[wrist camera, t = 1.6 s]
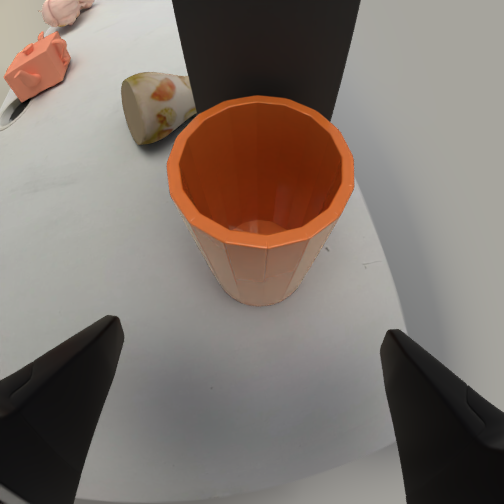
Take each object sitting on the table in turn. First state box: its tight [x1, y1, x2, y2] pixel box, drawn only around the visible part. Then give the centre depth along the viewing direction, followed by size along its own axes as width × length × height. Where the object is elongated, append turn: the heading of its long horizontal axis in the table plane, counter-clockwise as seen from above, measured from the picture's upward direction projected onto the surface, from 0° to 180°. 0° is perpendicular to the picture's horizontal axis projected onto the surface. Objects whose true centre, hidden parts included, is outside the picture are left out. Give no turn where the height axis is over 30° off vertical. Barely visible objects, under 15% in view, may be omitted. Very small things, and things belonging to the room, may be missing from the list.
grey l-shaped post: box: [172, 0, 361, 122], centre depth 13 cm, size 4×7×24 cm, turn 87°
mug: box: [121, 72, 197, 145], centre depth 25 cm, size 8×10×10 cm
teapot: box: [4, 31, 71, 102], centre depth 29 cm, size 12×15×8 cm
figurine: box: [41, 0, 94, 27], centre depth 37 cm, size 11×12×18 cm
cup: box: [167, 95, 354, 306], centre depth 17 cm, size 7×7×13 cm
